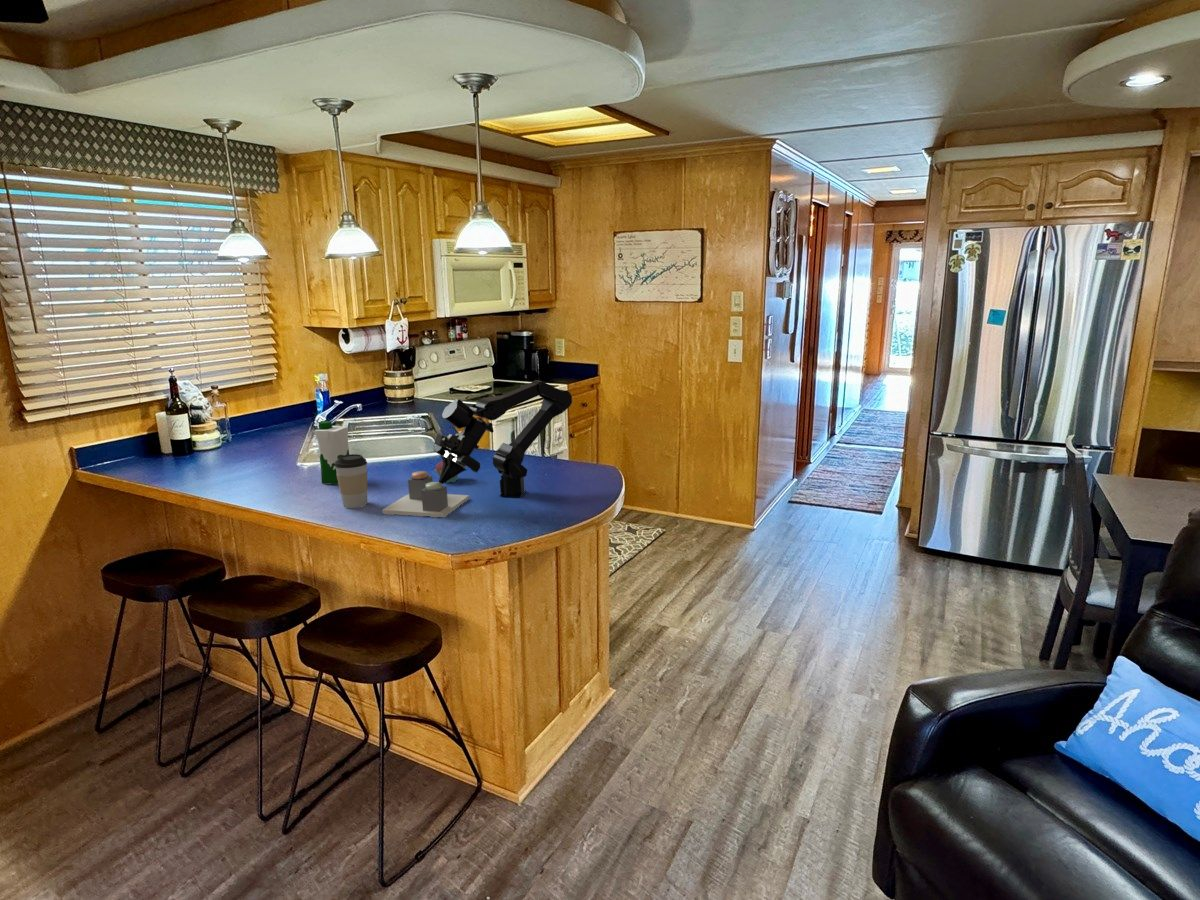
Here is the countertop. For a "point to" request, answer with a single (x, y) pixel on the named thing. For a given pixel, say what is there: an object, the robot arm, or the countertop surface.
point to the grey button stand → (425, 501)
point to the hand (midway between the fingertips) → (440, 483)
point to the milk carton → (331, 448)
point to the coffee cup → (352, 480)
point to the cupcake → (439, 469)
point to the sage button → (433, 486)
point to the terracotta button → (420, 475)
